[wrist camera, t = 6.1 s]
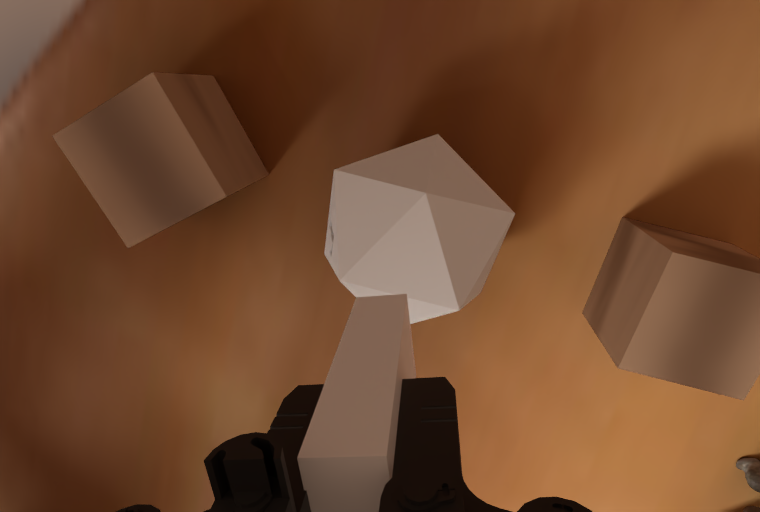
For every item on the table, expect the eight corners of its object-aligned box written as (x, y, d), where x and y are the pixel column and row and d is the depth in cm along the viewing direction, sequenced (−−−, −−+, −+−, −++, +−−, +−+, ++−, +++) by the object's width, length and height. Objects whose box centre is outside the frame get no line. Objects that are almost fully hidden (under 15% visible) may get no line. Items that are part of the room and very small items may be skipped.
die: (423, 96, 26) (274, 146, 19) (572, 173, 22) (447, 266, 16) (394, 220, 31) (271, 289, 25) (509, 298, 28) (399, 403, 21)
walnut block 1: (187, 217, 29) (127, 248, 23) (130, 126, 28) (52, 136, 22) (269, 174, 28) (226, 196, 22) (213, 75, 26) (152, 72, 20)
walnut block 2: (581, 312, 28) (617, 368, 23) (621, 216, 26) (672, 252, 20) (682, 337, 28) (743, 400, 22) (730, 243, 26) (812, 286, 20)
